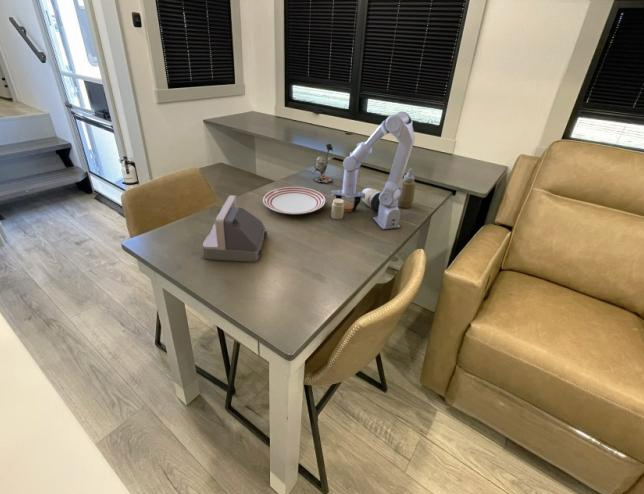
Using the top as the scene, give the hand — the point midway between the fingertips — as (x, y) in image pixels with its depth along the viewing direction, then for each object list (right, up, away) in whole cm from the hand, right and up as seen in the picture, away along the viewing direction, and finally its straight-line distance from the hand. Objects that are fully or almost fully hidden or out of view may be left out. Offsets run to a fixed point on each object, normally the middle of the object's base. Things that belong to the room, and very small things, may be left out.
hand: (346, 211), depth 147 cm
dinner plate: (-23, +3, 0) cm, 23 cm away
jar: (-4, -2, -7) cm, 9 cm away
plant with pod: (-11, +17, +27) cm, 34 cm away
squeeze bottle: (+27, +3, +7) cm, 28 cm away
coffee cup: (+10, +8, +6) cm, 14 cm away
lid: (0, +2, -1) cm, 2 cm away
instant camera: (-41, -13, -30) cm, 53 cm away
